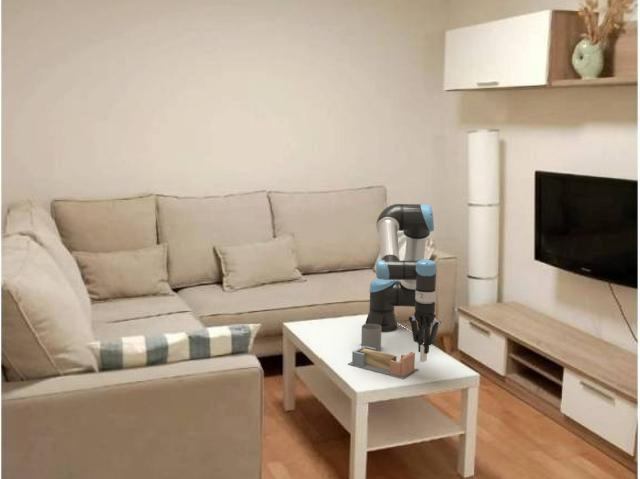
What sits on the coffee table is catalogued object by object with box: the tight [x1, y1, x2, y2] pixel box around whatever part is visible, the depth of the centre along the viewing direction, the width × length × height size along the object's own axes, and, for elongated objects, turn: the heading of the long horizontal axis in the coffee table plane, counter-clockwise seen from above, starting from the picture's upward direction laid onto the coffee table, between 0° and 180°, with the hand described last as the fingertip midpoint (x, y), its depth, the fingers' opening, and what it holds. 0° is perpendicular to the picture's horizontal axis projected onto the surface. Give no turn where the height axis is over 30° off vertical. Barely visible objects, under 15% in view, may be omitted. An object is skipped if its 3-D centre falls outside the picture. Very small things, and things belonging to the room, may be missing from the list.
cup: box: [360, 323, 382, 352], centre depth 317 cm, size 8×8×10 cm
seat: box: [347, 346, 420, 380], centre depth 295 cm, size 12×26×5 cm, turn 53°
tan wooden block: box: [359, 349, 398, 371], centre depth 297 cm, size 4×15×5 cm, turn 54°
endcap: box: [390, 352, 416, 376], centre depth 290 cm, size 9×6×7 cm, turn 143°
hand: (423, 360), depth 284 cm, fingers closed
